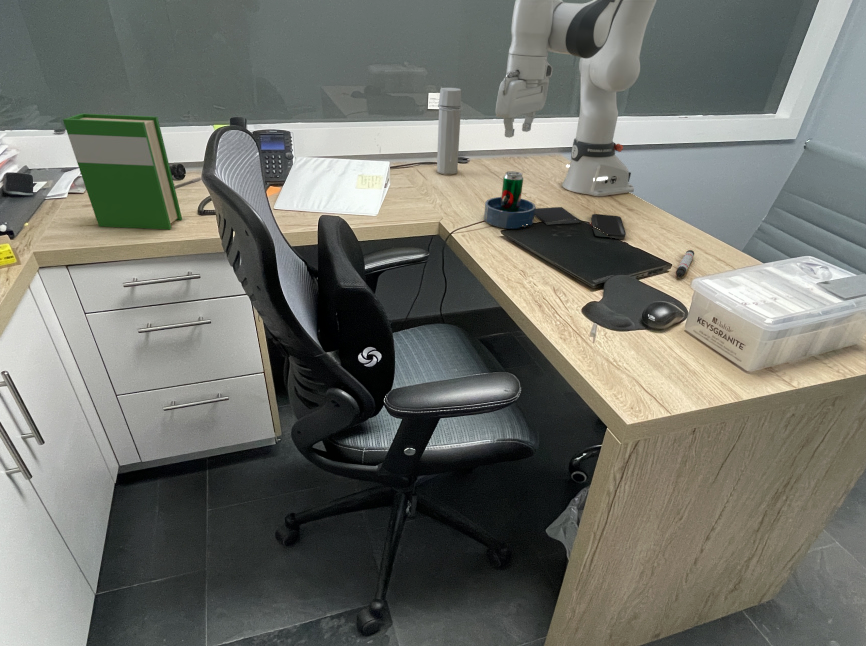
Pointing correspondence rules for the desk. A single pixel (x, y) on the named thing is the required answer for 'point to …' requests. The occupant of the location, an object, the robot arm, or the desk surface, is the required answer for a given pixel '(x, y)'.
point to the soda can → (511, 191)
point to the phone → (609, 225)
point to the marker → (684, 263)
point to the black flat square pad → (553, 214)
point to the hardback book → (124, 170)
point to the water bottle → (448, 130)
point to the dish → (509, 214)
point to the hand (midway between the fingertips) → (517, 134)
